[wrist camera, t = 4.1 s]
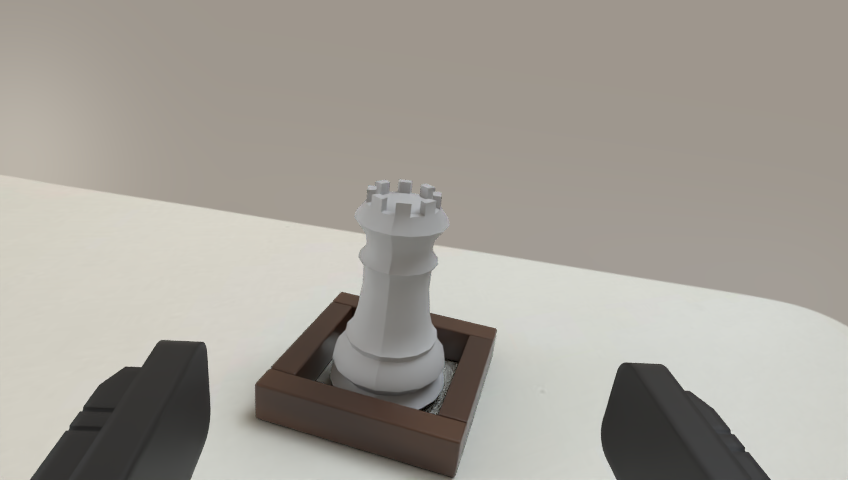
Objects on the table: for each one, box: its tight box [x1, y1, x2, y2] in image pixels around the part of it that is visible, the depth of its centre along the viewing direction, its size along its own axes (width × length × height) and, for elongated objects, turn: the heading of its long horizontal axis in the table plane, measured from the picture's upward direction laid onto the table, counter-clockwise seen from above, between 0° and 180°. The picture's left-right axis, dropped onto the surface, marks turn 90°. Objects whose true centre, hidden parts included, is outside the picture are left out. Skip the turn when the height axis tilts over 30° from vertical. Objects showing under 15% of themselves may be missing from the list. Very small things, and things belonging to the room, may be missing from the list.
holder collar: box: [255, 292, 497, 477], centre depth 21 cm, size 7×7×2 cm
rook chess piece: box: [330, 179, 449, 410], centre depth 20 cm, size 4×4×8 cm
